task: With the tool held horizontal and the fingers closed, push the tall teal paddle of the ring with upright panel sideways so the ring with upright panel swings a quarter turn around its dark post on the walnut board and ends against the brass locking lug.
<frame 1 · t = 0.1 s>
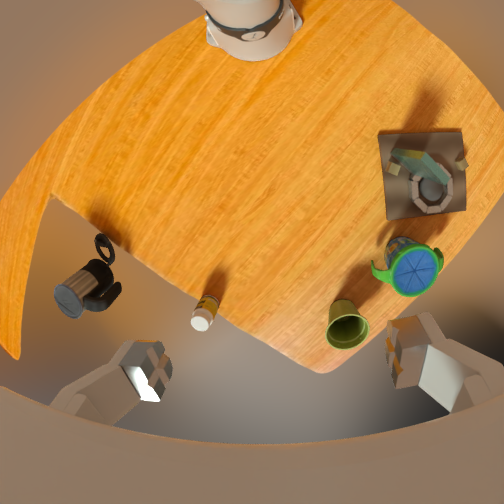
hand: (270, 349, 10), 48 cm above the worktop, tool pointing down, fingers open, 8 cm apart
ring with upright panel: (438, 185, 42), point 8 cm above the worktop, hinge at 0.0°
milk frother: (103, 261, 67), on the worktop
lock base: (427, 185, 50), on the worktop
plant pot: (342, 309, 63), on the worktop
snack cup: (398, 251, 56), on the worktop
supplement bottle: (209, 302, 67), on the worktop
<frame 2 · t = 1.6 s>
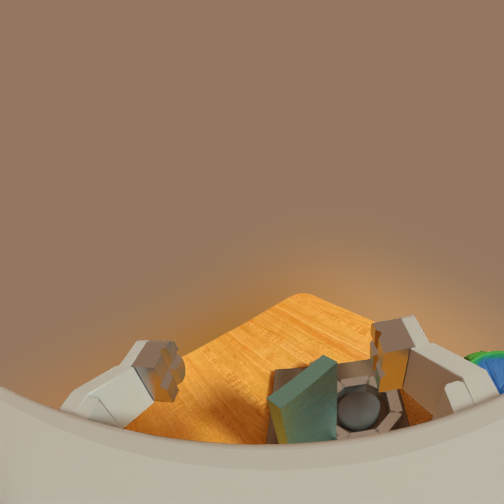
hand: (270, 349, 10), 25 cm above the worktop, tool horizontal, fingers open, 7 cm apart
ring with upright panel: (348, 391, 25), point 8 cm above the worktop, hinge at 0.0°
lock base: (357, 420, 29), on the worktop
snack cup: (469, 440, 20), on the worktop
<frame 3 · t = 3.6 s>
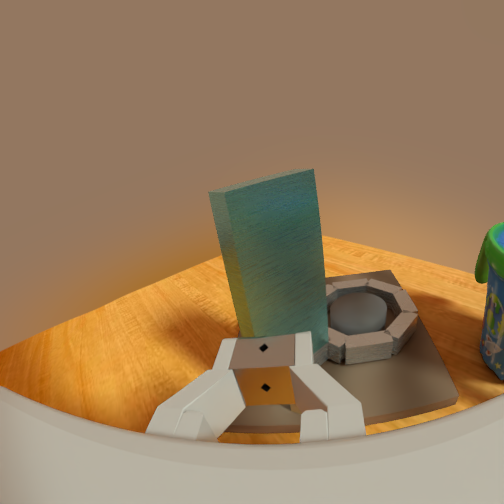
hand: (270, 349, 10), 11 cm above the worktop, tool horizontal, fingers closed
ring with upright panel: (340, 261, 20), point 8 cm above the worktop, hinge at 0.0°
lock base: (357, 334, 24), on the worktop
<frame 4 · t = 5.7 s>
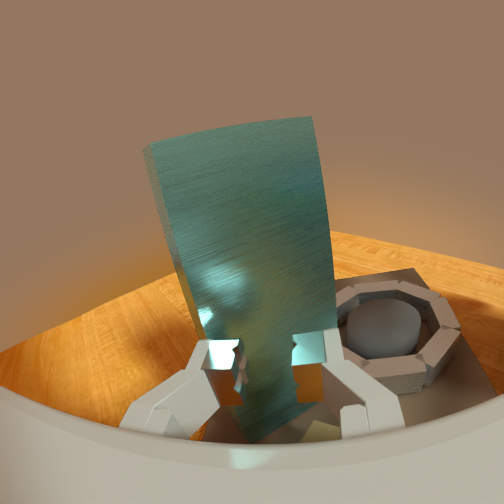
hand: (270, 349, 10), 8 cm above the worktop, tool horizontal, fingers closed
ring with upright panel: (360, 257, 14), point 8 cm above the worktop, hinge at 6.8°, touching gripper
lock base: (381, 353, 18), on the worktop
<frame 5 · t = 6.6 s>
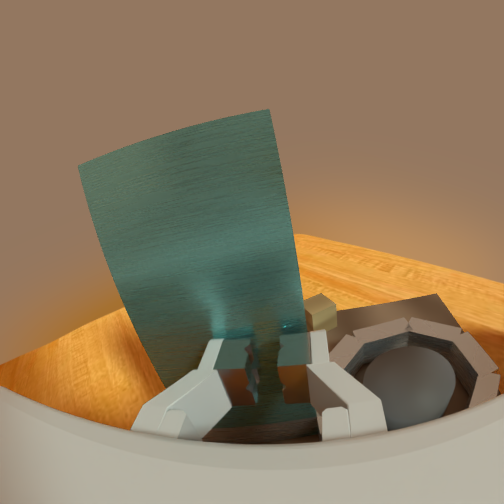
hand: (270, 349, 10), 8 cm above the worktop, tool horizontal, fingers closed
ring with upright panel: (373, 302, 10), point 8 cm above the worktop, hinge at 37.7°, touching gripper
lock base: (402, 412, 13), on the worktop
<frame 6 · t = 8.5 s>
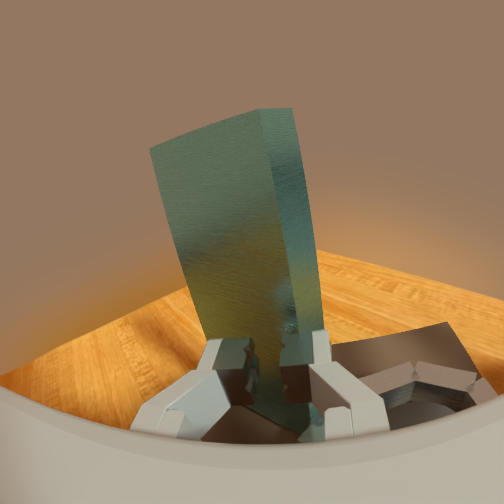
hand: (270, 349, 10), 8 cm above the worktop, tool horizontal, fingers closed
ring with upright panel: (383, 343, 8), point 8 cm above the worktop, hinge at 80.5°, touching gripper
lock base: (404, 471, 9), on the worktop
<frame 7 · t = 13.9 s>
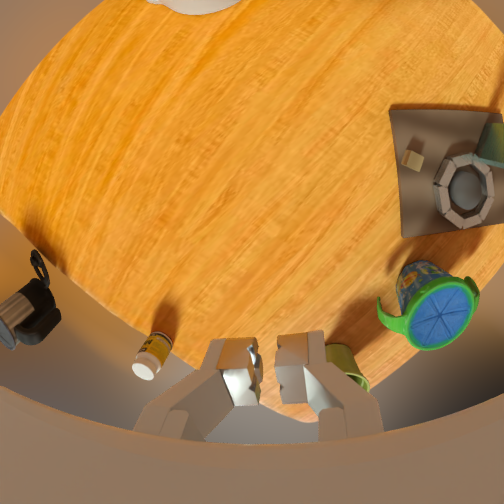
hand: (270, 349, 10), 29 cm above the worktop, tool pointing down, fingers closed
ring with upright panel: (498, 184, 24), point 8 cm above the worktop, hinge at 80.5°
milk frother: (43, 282, 49), on the worktop
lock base: (458, 187, 32), on the worktop
plant pot: (334, 355, 45), on the worktop
snack cup: (415, 280, 38), on the worktop
supplement bottle: (161, 340, 49), on the worktop
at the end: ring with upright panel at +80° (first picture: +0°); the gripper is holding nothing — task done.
